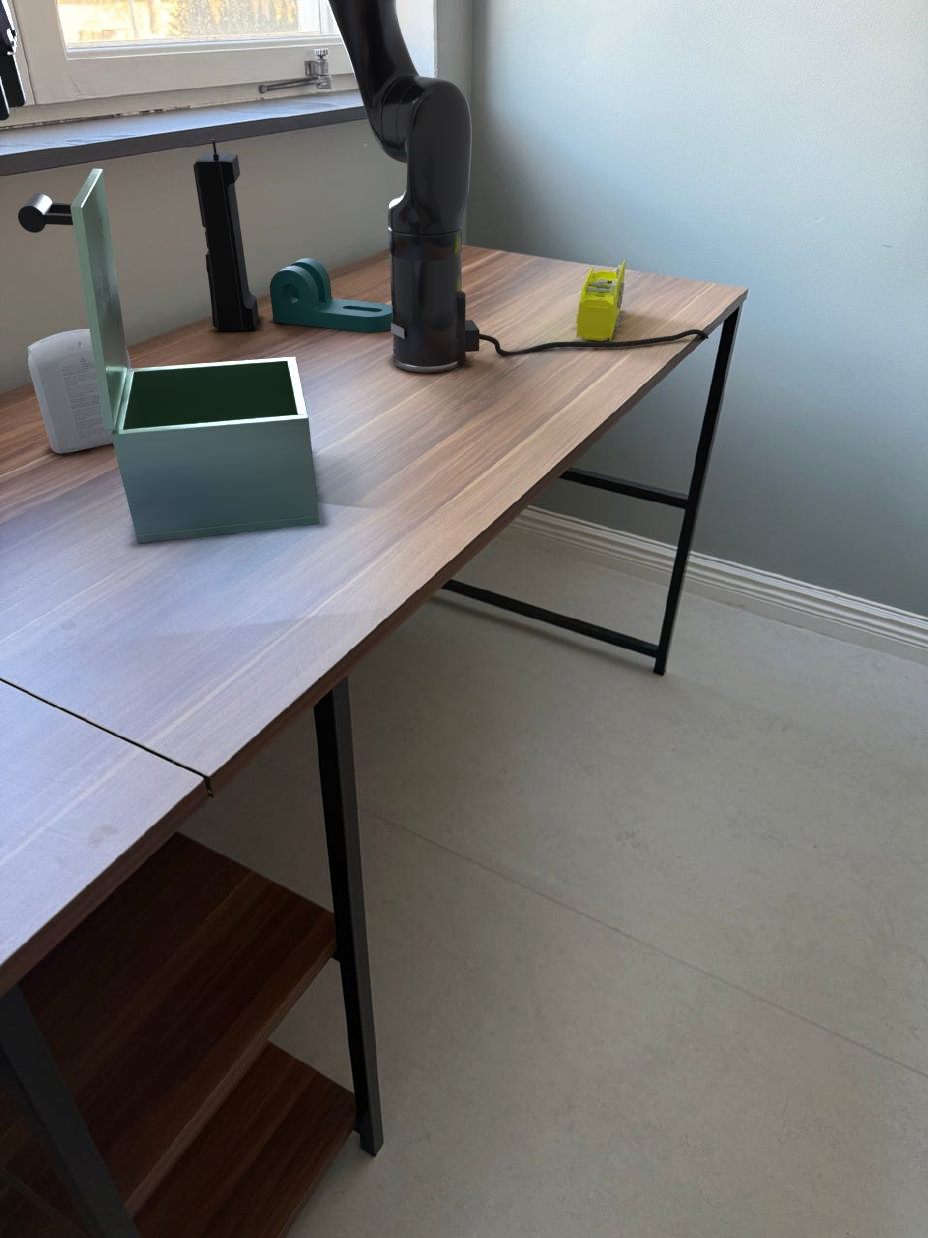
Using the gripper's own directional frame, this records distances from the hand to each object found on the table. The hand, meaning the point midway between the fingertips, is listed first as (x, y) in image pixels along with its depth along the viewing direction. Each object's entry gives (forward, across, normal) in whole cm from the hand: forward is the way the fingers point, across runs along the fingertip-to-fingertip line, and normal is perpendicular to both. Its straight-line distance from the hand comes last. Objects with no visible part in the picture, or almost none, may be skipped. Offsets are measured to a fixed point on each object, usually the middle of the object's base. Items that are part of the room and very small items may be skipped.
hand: (4, 112), depth 72 cm
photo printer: (+34, +11, +2) cm, 36 cm away
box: (+34, -5, -12) cm, 36 cm away
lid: (+14, -5, -5) cm, 15 cm away
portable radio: (+34, +50, -15) cm, 62 cm away
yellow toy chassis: (+35, +36, -68) cm, 84 cm away
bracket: (+34, +47, -30) cm, 66 cm away
